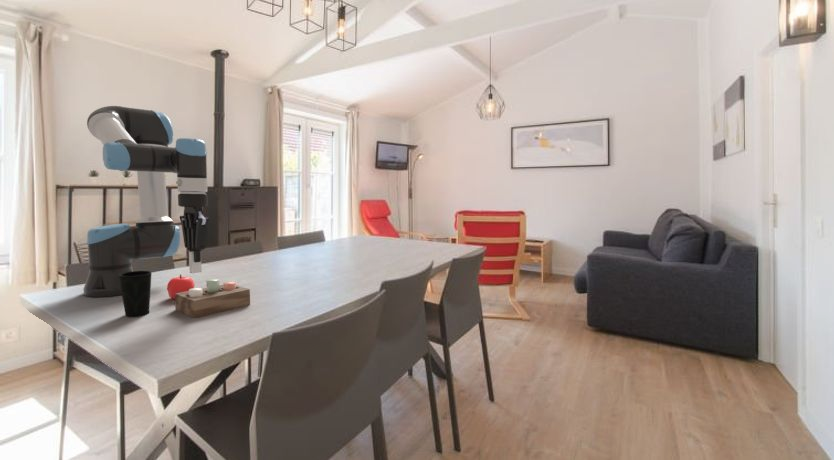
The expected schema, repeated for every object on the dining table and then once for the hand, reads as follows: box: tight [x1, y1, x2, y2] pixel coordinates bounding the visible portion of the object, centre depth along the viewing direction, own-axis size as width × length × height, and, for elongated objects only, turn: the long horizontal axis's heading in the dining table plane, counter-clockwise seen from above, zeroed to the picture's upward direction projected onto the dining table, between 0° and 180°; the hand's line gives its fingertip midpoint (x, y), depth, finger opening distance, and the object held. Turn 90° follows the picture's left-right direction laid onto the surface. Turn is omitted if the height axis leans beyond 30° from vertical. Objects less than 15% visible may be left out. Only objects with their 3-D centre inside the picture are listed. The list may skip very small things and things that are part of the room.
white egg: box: [189, 287, 203, 298], centre depth 116 cm, size 4×4×4 cm
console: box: [174, 284, 251, 319], centre depth 120 cm, size 12×17×5 cm
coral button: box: [222, 281, 237, 291], centre depth 124 cm, size 4×4×4 cm
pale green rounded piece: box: [205, 278, 221, 294], centre depth 120 cm, size 4×4×4 cm
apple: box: [166, 274, 195, 300], centre depth 130 cm, size 8×8×8 cm
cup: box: [119, 270, 152, 318], centre depth 112 cm, size 8×8×12 cm
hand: (195, 272), depth 115 cm, fingers closed
